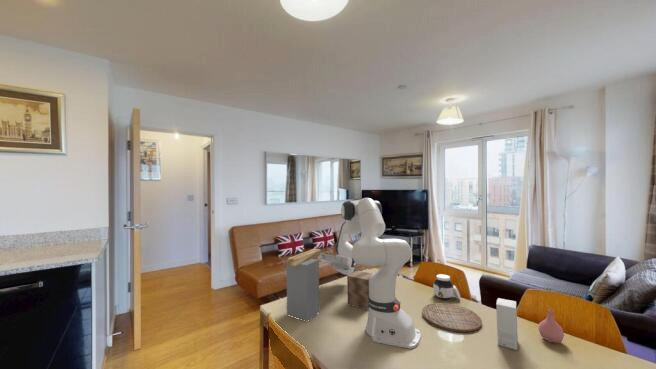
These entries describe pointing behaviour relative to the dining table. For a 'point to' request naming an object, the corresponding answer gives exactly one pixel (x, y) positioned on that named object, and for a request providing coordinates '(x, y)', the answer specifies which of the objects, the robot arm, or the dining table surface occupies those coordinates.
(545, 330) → the pink teardrop-shaped piece
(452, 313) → the trivet
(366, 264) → the robot arm
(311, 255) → the oak bar
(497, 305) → the skincare box
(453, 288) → the spread jar
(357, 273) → the walnut block
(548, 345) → the dining table surface
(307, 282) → the tall stand
